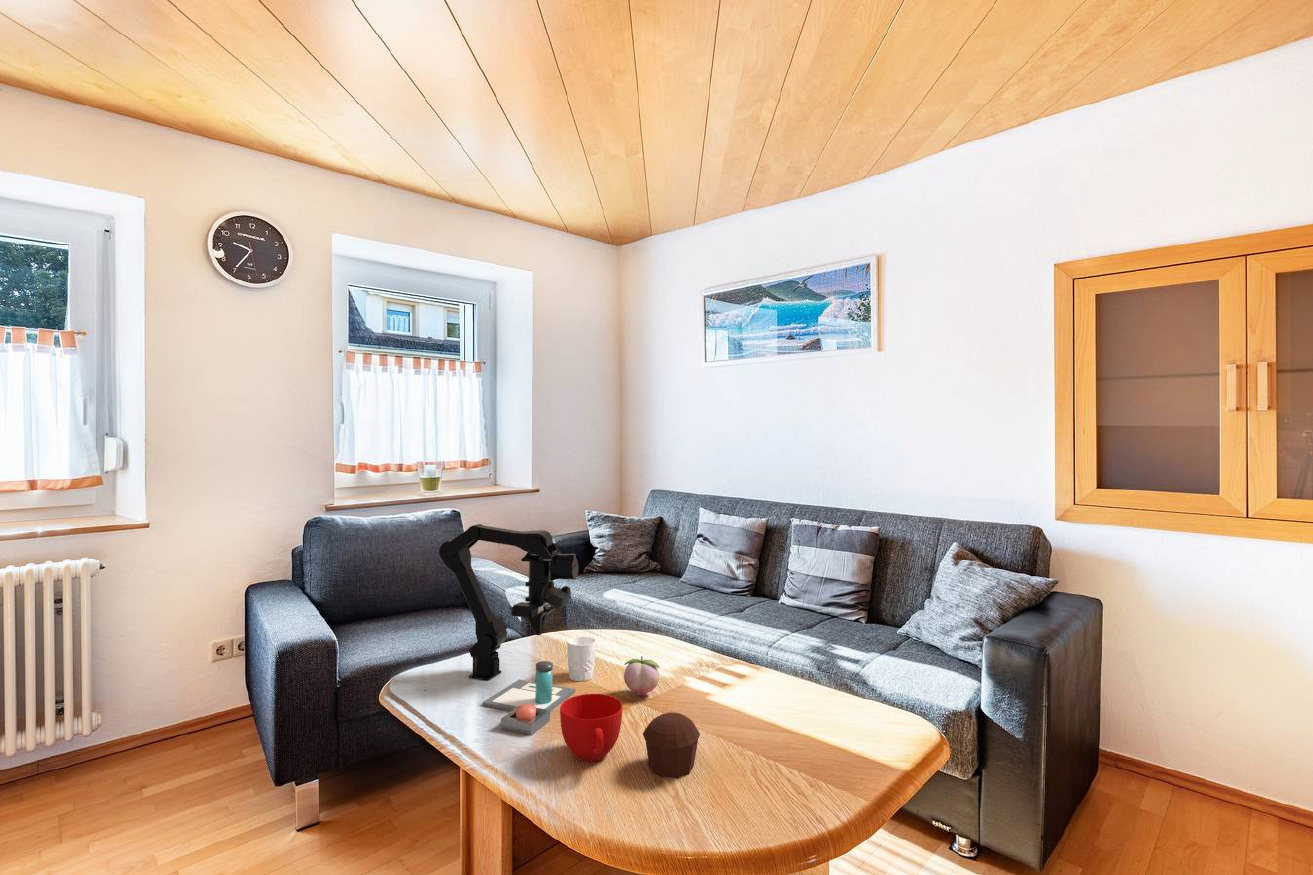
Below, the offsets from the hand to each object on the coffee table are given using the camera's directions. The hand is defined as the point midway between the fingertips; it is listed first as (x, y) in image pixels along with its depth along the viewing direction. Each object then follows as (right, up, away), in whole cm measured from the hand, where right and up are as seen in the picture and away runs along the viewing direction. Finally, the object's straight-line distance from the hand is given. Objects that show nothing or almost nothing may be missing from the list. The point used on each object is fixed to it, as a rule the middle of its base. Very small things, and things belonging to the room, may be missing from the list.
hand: (538, 635), depth 172 cm
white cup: (+11, -12, +2) cm, 17 cm away
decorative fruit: (+28, -13, -10) cm, 32 cm away
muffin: (+35, -12, -45) cm, 59 cm away
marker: (+4, -11, -17) cm, 20 cm away
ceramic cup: (+19, -12, -43) cm, 48 cm away
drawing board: (0, -12, -13) cm, 18 cm away
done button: (+2, -12, -28) cm, 30 cm away
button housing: (+2, -12, -28) cm, 30 cm away
